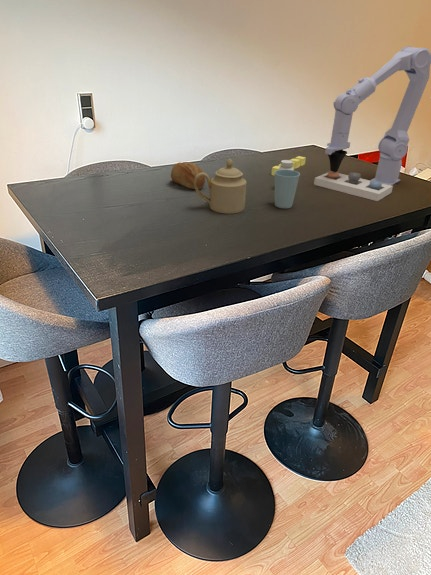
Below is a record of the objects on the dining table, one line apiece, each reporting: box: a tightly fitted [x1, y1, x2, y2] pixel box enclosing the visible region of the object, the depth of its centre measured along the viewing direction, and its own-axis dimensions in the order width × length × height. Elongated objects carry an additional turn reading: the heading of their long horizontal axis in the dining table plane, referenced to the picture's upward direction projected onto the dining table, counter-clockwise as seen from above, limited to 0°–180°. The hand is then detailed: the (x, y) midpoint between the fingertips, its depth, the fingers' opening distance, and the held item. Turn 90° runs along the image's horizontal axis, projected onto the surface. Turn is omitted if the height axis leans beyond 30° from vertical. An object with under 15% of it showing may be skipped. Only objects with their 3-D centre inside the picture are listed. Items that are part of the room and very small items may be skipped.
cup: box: [274, 170, 301, 209], centre depth 132 cm, size 8×8×10 cm
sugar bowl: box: [194, 158, 248, 215], centre depth 127 cm, size 15×11×15 cm
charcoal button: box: [348, 171, 362, 185], centre depth 149 cm, size 4×4×4 cm
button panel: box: [313, 172, 394, 202], centre depth 150 cm, size 12×24×2 cm, turn 49°
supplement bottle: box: [278, 159, 295, 171], centre depth 146 cm, size 5×5×10 cm
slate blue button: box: [369, 180, 382, 190], centre depth 145 cm, size 4×4×4 cm
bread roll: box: [170, 161, 206, 190], centre depth 147 cm, size 10×15×8 cm, turn 41°
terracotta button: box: [327, 170, 340, 180], centre depth 154 cm, size 4×4×4 cm
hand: (333, 171), depth 153 cm, fingers closed
